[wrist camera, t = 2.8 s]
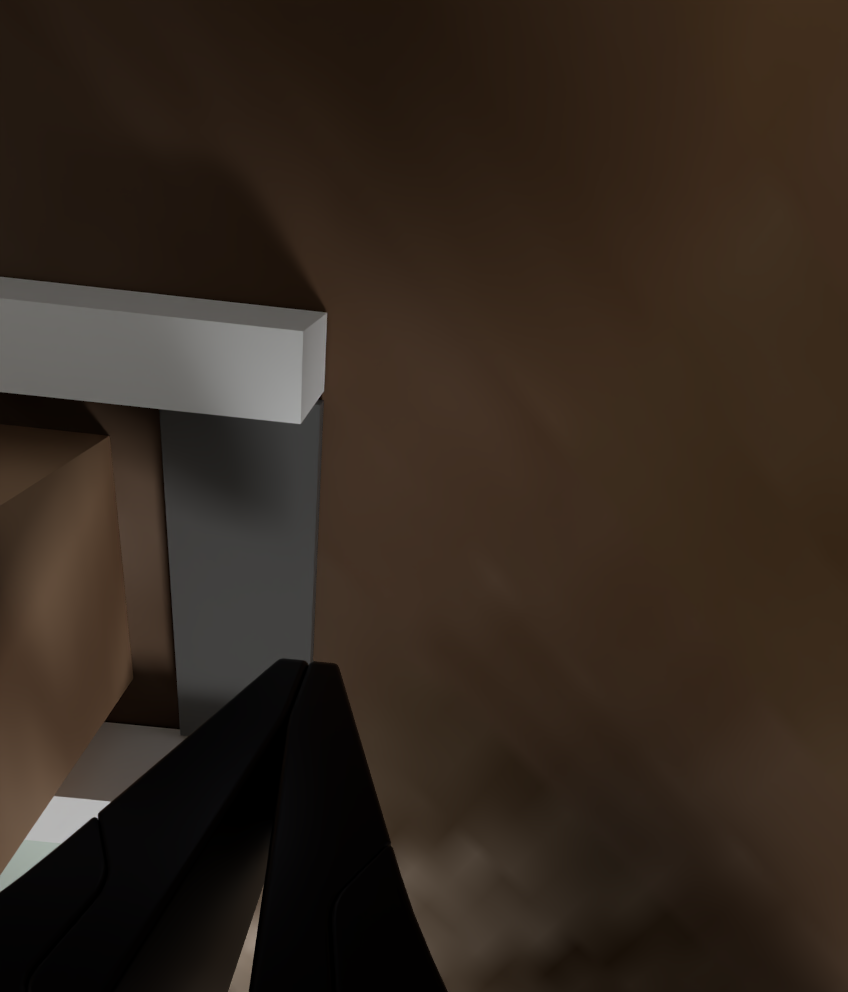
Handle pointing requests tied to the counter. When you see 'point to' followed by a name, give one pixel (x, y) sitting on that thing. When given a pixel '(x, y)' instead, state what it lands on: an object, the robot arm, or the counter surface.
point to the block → (55, 614)
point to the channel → (192, 485)
